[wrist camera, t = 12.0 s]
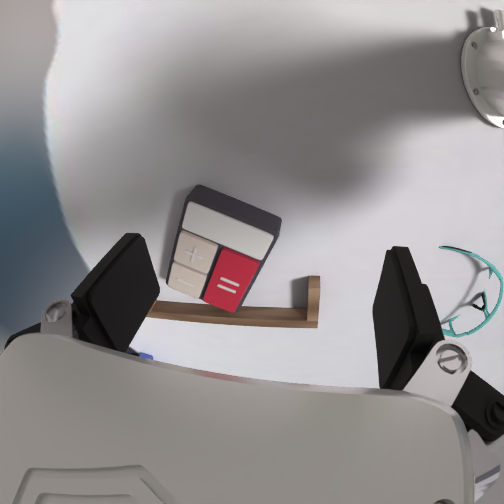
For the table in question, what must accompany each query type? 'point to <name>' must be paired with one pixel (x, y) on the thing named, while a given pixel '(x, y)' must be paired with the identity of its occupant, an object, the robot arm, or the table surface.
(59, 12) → the table surface
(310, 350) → the table surface
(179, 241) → the calculator
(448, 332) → the teal safety glasses
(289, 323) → the holder
